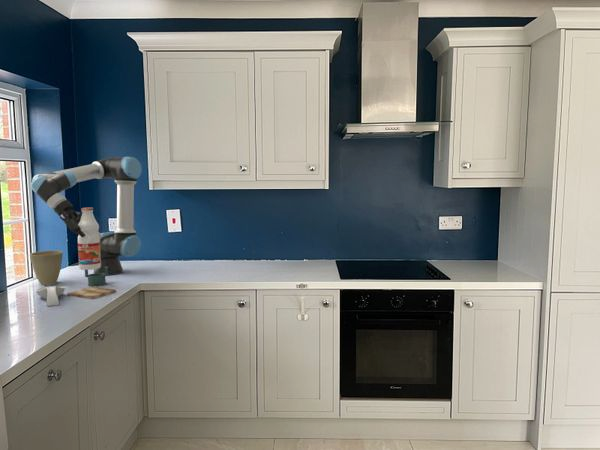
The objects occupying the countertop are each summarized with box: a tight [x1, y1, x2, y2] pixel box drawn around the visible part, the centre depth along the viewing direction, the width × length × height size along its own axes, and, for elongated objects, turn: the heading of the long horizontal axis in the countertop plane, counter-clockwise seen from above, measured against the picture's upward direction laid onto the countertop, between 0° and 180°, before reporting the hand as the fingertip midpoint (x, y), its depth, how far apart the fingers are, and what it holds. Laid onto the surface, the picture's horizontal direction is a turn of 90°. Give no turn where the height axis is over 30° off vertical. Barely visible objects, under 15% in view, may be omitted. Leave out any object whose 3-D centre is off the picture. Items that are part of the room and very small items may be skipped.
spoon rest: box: [35, 285, 66, 307], centre depth 214 cm, size 24×12×7 cm, turn 30°
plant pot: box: [29, 250, 63, 286], centre depth 245 cm, size 15×15×16 cm
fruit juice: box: [77, 207, 101, 271], centre depth 221 cm, size 9×9×28 cm
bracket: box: [84, 266, 109, 287], centre depth 242 cm, size 9×9×9 cm
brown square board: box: [67, 286, 117, 300], centre depth 224 cm, size 14×15×1 cm
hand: (95, 239), depth 221 cm, fingers closed on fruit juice, 9 cm apart
